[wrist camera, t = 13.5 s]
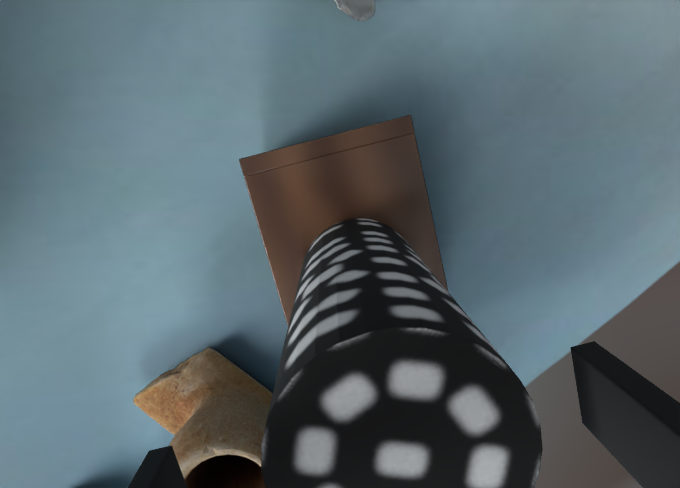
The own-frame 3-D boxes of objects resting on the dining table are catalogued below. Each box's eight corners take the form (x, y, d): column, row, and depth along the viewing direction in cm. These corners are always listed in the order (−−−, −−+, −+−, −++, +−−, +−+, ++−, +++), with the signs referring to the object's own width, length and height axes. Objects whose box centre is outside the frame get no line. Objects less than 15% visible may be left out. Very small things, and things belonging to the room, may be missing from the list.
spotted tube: (425, 225, 33) (570, 344, 13) (407, 335, 34) (511, 587, 15) (308, 211, 32) (274, 310, 13) (295, 323, 34) (248, 565, 14)
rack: (318, 349, 47) (314, 416, 35) (263, 156, 43) (238, 159, 31) (432, 321, 47) (467, 379, 35) (388, 123, 43) (410, 114, 31)
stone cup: (324, 406, 48) (322, 518, 34) (247, 478, 50) (213, 615, 35) (215, 311, 46) (162, 387, 31) (138, 389, 48) (53, 497, 33)
